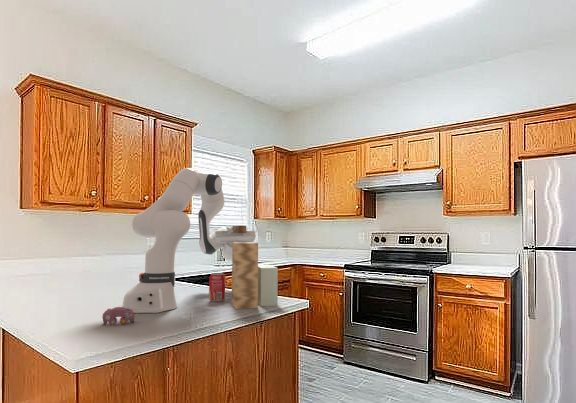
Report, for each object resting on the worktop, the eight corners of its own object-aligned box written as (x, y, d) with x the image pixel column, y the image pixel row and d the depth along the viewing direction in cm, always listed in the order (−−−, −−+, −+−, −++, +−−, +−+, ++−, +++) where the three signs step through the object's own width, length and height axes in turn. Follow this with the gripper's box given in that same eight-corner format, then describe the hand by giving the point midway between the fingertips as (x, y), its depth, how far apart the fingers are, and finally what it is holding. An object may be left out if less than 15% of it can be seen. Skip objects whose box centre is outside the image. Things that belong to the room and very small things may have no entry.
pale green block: (260, 306, 163) (261, 268, 164) (254, 299, 178) (254, 264, 179) (277, 305, 164) (277, 267, 166) (269, 299, 180) (269, 264, 181)
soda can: (217, 299, 180) (218, 272, 181) (228, 300, 175) (228, 273, 176) (205, 301, 174) (206, 273, 175) (215, 302, 170) (216, 274, 171)
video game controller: (101, 330, 128) (100, 312, 126) (103, 321, 132) (103, 304, 130) (134, 328, 131) (134, 311, 129) (135, 319, 135) (135, 302, 133)
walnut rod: (238, 233, 173) (238, 225, 174) (232, 232, 195) (232, 225, 195) (246, 233, 174) (246, 225, 175) (239, 232, 195) (239, 226, 196)
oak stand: (235, 308, 157) (236, 243, 159) (231, 303, 169) (232, 242, 171) (257, 307, 159) (258, 243, 161) (252, 302, 171) (253, 242, 173)
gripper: (212, 236, 202) (215, 222, 191) (252, 236, 207) (256, 223, 196) (213, 247, 199) (215, 234, 188) (253, 247, 204) (257, 234, 193)
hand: (236, 228), depth 192 cm, fingers closed on walnut rod, 3 cm apart
